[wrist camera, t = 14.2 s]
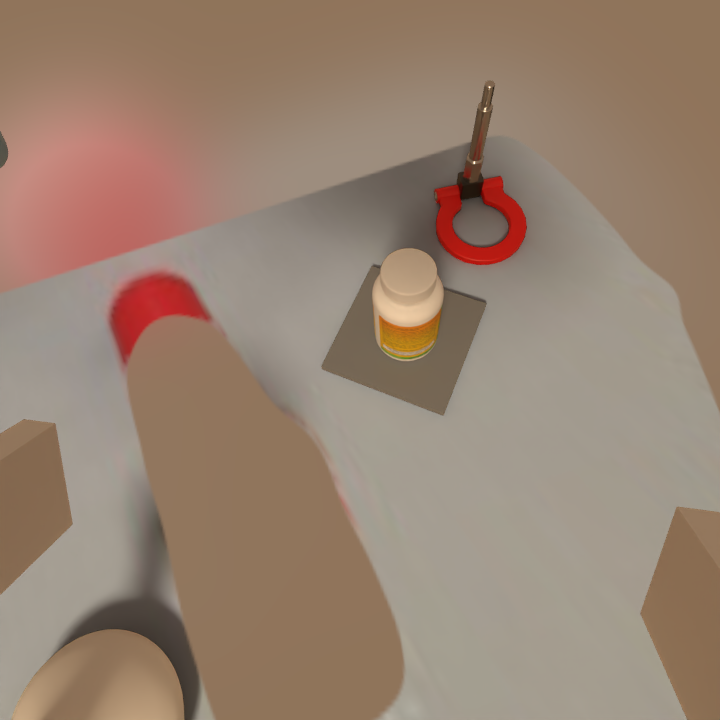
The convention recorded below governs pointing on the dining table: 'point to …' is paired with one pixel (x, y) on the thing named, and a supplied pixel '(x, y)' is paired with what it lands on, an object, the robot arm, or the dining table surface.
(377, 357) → the coaster
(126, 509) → the dining table surface
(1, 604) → the dining table surface
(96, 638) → the flower in vase
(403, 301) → the supplement bottle
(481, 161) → the tow hook
